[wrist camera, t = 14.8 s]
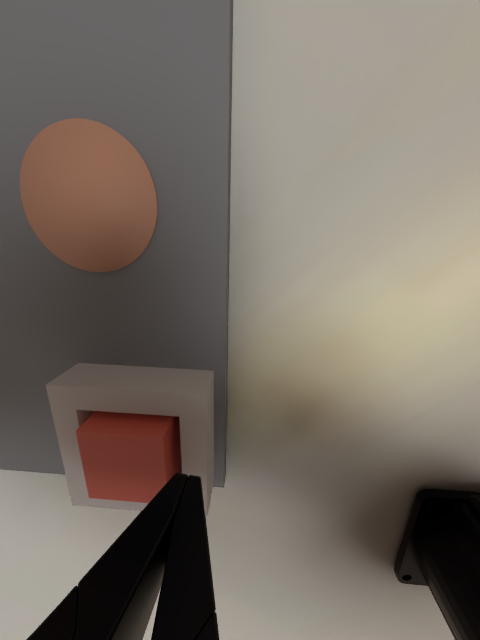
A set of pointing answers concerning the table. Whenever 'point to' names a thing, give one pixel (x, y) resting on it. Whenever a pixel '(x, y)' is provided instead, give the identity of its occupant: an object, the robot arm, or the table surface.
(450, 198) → the table surface
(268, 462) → the table surface
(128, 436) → the button
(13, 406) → the picture board
